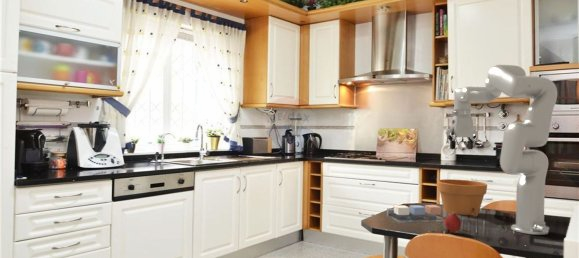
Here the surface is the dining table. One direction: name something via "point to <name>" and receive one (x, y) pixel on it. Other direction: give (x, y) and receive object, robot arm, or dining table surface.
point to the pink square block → (432, 209)
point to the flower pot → (462, 196)
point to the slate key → (417, 209)
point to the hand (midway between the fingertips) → (461, 149)
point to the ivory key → (401, 210)
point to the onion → (452, 222)
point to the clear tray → (413, 217)
